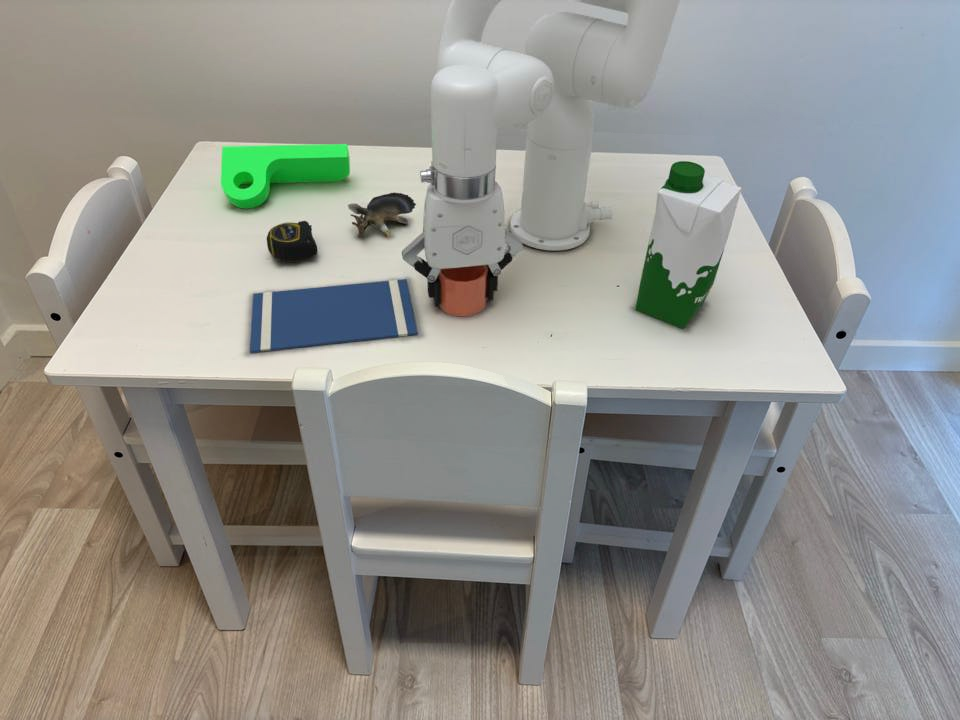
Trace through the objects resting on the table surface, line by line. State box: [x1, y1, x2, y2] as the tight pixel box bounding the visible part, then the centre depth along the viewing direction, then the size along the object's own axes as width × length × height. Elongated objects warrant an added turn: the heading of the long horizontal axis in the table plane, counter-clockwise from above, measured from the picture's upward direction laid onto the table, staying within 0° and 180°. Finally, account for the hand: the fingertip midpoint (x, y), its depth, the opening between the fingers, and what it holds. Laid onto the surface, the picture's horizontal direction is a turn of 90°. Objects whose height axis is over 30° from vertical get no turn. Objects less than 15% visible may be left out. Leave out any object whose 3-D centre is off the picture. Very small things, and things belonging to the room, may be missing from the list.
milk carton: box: [635, 160, 743, 330], centre depth 88 cm, size 9×9×20 cm
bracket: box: [220, 143, 351, 210], centre depth 114 cm, size 20×10×7 cm
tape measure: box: [266, 220, 318, 263], centre depth 101 cm, size 7×7×4 cm
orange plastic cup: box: [438, 265, 488, 317], centre depth 93 cm, size 7×7×6 cm
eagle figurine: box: [347, 191, 417, 238], centre depth 106 cm, size 8×7×9 cm
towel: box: [249, 278, 419, 354], centre depth 92 cm, size 21×12×1 cm, turn 102°
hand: (462, 296), depth 94 cm, fingers closed on orange plastic cup, 6 cm apart
